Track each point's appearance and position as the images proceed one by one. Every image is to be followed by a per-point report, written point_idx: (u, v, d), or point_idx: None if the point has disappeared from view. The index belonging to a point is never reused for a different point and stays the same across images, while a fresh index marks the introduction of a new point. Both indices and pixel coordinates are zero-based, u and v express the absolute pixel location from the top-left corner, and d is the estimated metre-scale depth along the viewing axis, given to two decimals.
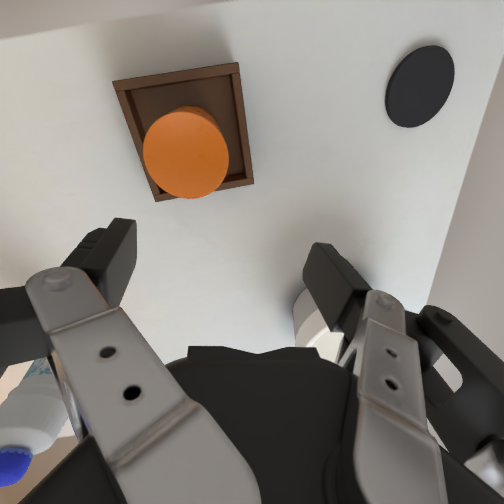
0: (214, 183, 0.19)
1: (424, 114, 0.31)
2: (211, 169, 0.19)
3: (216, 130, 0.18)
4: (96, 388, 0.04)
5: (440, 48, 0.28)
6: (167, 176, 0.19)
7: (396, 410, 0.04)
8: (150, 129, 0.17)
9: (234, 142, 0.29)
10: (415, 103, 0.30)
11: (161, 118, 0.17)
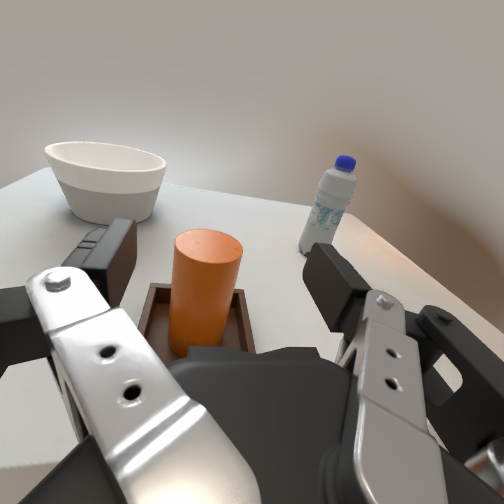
0: (193, 231, 0.24)
1: None
2: (193, 236, 0.23)
3: (180, 250, 0.21)
4: (96, 388, 0.04)
5: None
6: (228, 241, 0.24)
7: (396, 410, 0.04)
8: (232, 260, 0.21)
9: (155, 325, 0.28)
10: None
11: (222, 262, 0.20)
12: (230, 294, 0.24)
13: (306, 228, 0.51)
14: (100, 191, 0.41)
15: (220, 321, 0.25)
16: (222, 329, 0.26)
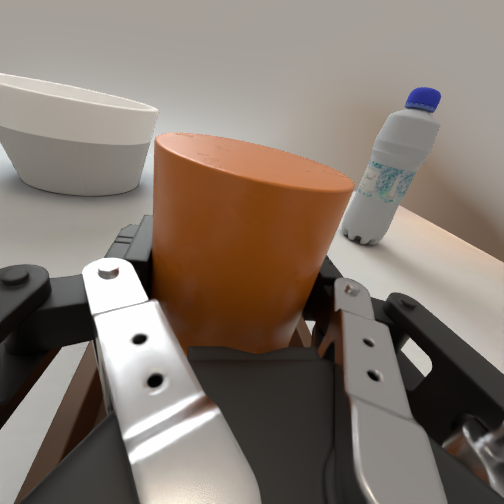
0: (207, 136, 0.09)
1: None
2: (209, 140, 0.08)
3: (170, 148, 0.06)
4: (125, 370, 0.04)
5: None
6: (300, 160, 0.09)
7: (396, 410, 0.04)
8: (344, 188, 0.06)
9: None
10: None
11: (320, 189, 0.06)
12: (306, 300, 0.09)
13: (356, 202, 0.36)
14: (51, 136, 0.26)
15: None
16: None
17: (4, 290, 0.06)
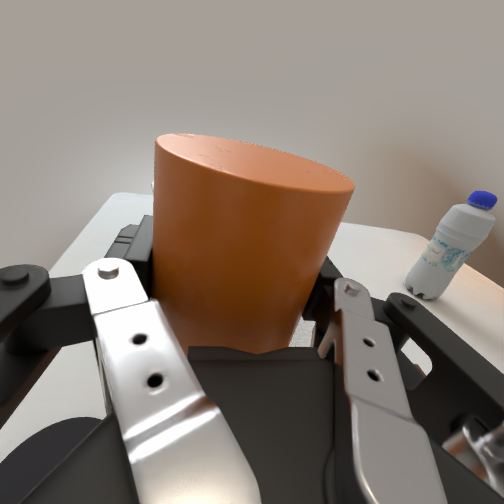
0: (207, 137, 0.09)
1: (58, 435, 0.18)
2: (209, 141, 0.08)
3: (170, 150, 0.06)
4: (125, 370, 0.04)
5: None
6: (300, 160, 0.09)
7: (396, 410, 0.04)
8: (344, 189, 0.06)
9: None
10: None
11: (320, 190, 0.06)
12: (307, 300, 0.09)
13: (421, 267, 0.45)
14: None
15: None
16: None
17: (4, 290, 0.06)
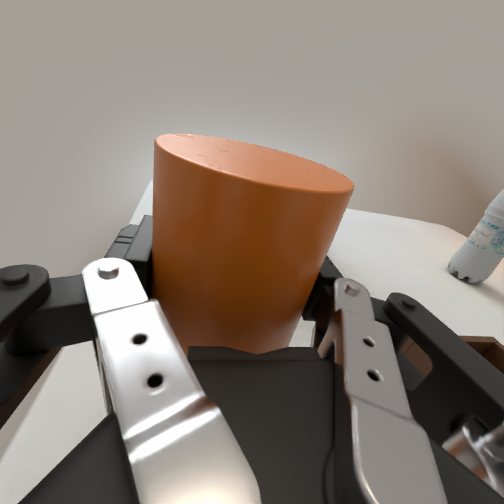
0: (207, 137, 0.09)
1: None
2: (208, 142, 0.08)
3: (169, 150, 0.06)
4: (125, 371, 0.04)
5: None
6: (299, 161, 0.09)
7: (396, 410, 0.04)
8: (344, 189, 0.06)
9: None
10: None
11: (320, 190, 0.06)
12: (306, 300, 0.09)
13: (468, 251, 0.46)
14: None
15: None
16: None
17: (4, 290, 0.06)
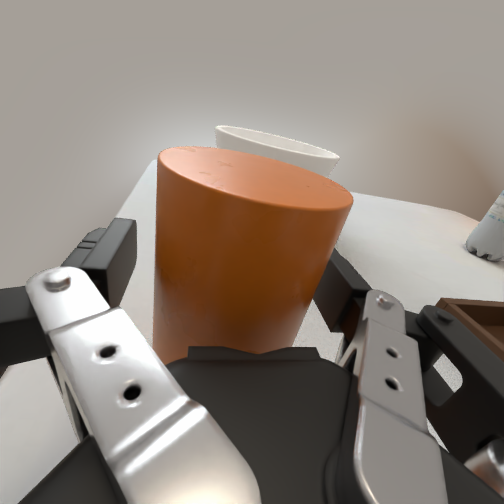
0: (209, 149, 0.09)
1: None
2: (210, 154, 0.08)
3: (172, 168, 0.06)
4: (96, 388, 0.04)
5: None
6: (300, 172, 0.09)
7: (396, 410, 0.04)
8: (343, 205, 0.07)
9: None
10: None
11: (319, 208, 0.06)
12: (306, 310, 0.09)
13: (488, 226, 0.43)
14: None
15: None
16: None
17: None
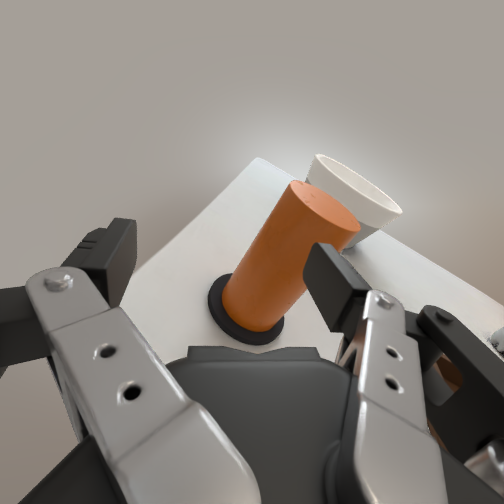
0: (308, 185, 0.20)
1: None
2: (308, 189, 0.19)
3: (295, 192, 0.17)
4: (96, 388, 0.04)
5: (225, 324, 0.21)
6: (344, 211, 0.19)
7: (396, 410, 0.04)
8: (350, 230, 0.16)
9: None
10: None
11: (339, 226, 0.16)
12: None
13: None
14: None
15: (291, 299, 0.20)
16: (286, 309, 0.22)
17: None
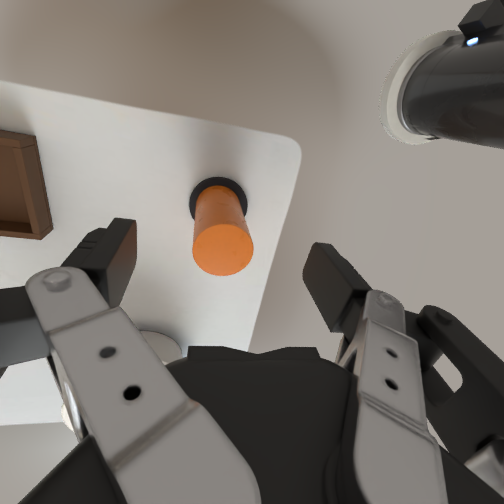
0: (235, 270, 0.26)
1: None
2: (236, 261, 0.26)
3: (250, 241, 0.25)
4: (96, 388, 0.04)
5: (233, 183, 0.34)
6: (204, 258, 0.25)
7: (396, 410, 0.04)
8: (207, 229, 0.23)
9: None
10: None
11: (218, 225, 0.23)
12: (200, 215, 0.27)
13: None
14: None
15: (206, 201, 0.29)
16: (201, 200, 0.31)
17: None
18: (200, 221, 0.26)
